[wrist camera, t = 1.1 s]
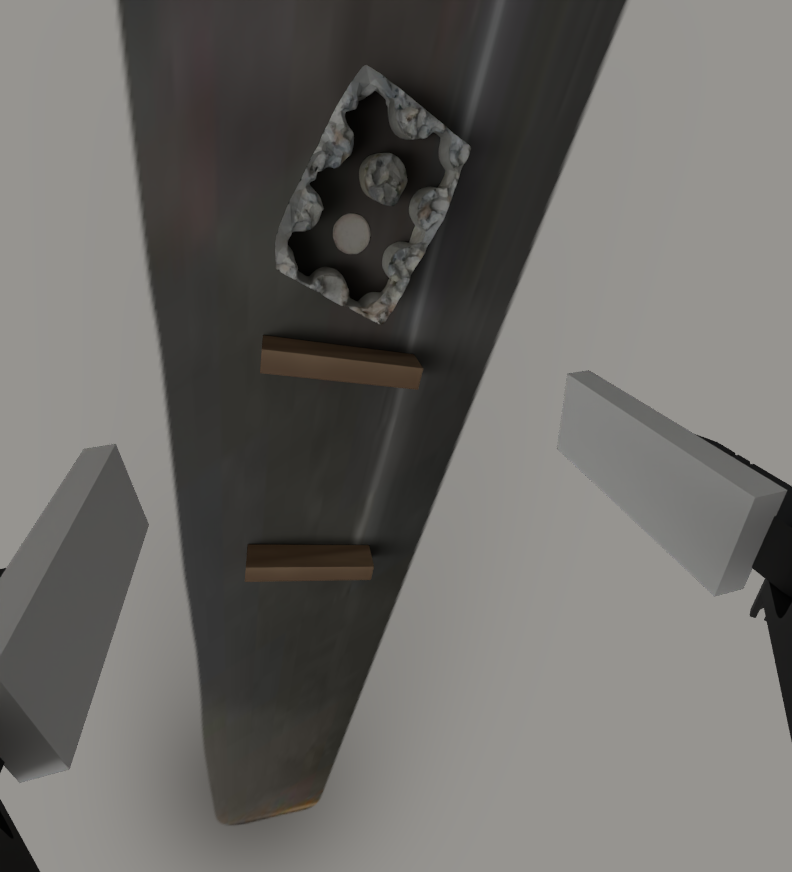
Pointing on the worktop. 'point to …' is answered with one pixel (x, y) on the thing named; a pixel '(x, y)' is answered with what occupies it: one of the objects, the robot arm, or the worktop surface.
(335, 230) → the egg carton
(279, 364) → the parallel wooden rails
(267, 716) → the worktop surface
